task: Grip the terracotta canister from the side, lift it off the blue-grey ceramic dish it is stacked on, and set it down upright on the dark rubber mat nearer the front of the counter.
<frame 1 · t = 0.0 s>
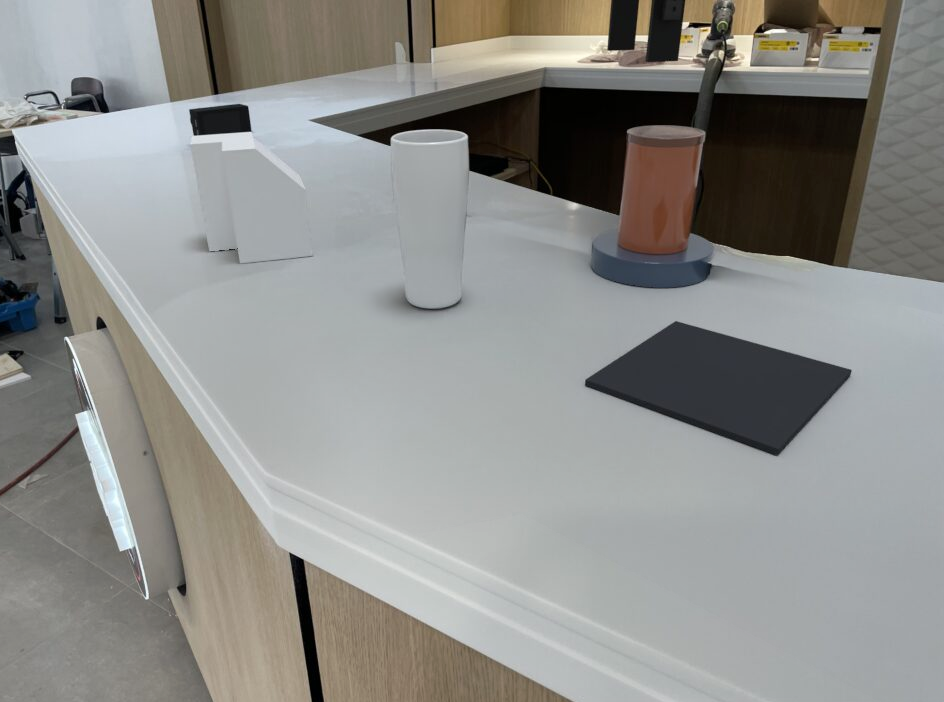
hand: (639, 55, 72), 20 cm above the counter, tool pointing down, fingers open, 13 cm apart
digital camera: (223, 145, 144), on the counter
canister: (652, 243, 75), point 2 cm above the counter, touching dish
drinking glass: (433, 302, 69), on the counter
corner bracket: (259, 248, 85), on the counter
mat: (717, 380, 54), on the counter
dish: (649, 267, 76), on the counter, touching canister
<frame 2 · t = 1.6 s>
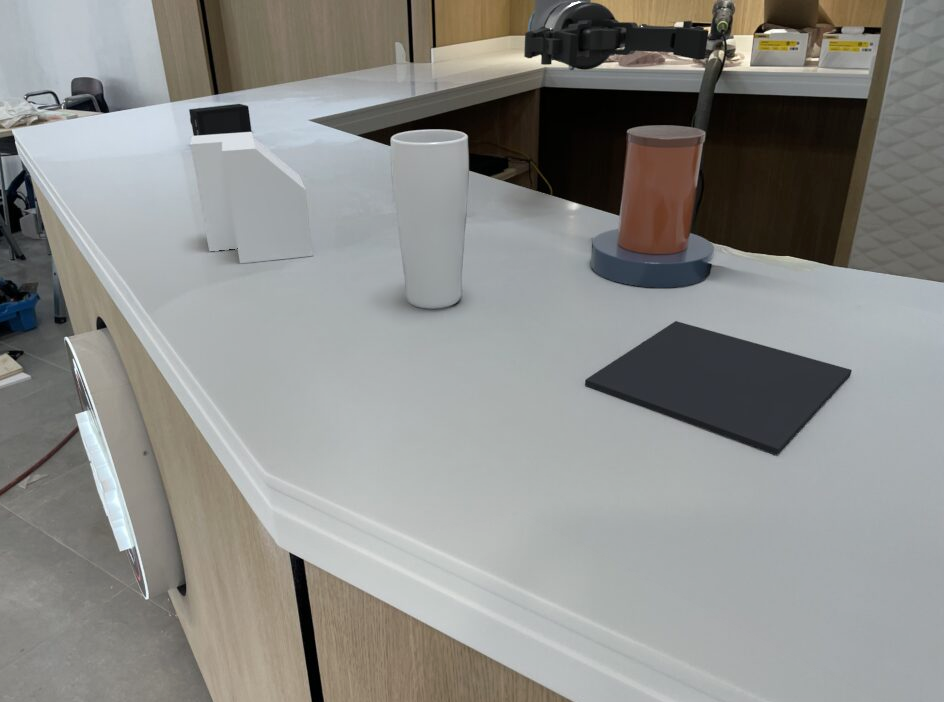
hand: (638, 47, 74), 20 cm above the counter, tool horizontal, fingers open, 13 cm apart
nothing on the counter moved.
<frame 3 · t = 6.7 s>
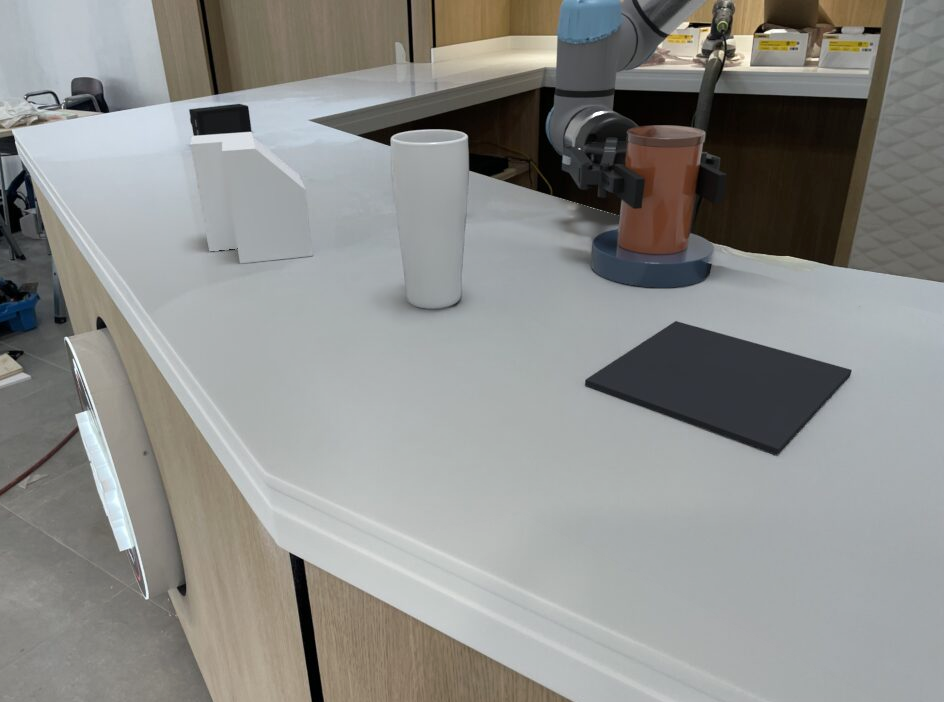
hand: (680, 191, 67), 9 cm above the counter, tool horizontal, fingers closed on canister, 7 cm apart
canister: (652, 243, 75), point 2 cm above the counter, touching dish, gripper
everything else where it was.
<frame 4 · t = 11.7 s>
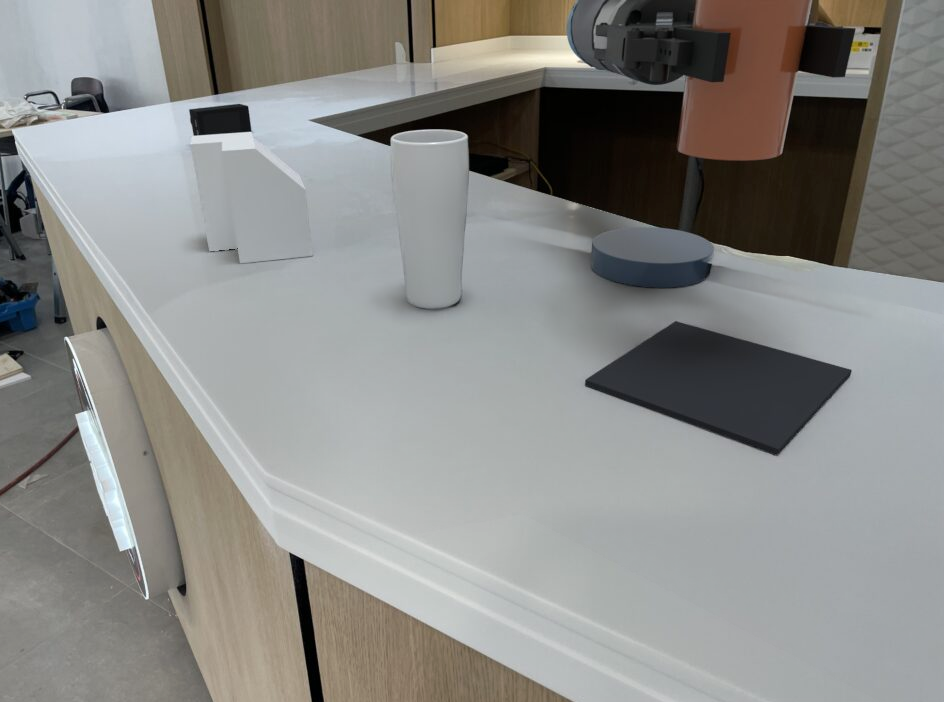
hand: (782, 55, 44), 22 cm above the counter, tool horizontal, fingers closed on canister, 7 cm apart
canister: (728, 150, 52), point 15 cm above the counter, touching gripper
dish: (649, 267, 76), on the counter
everything else where it was.
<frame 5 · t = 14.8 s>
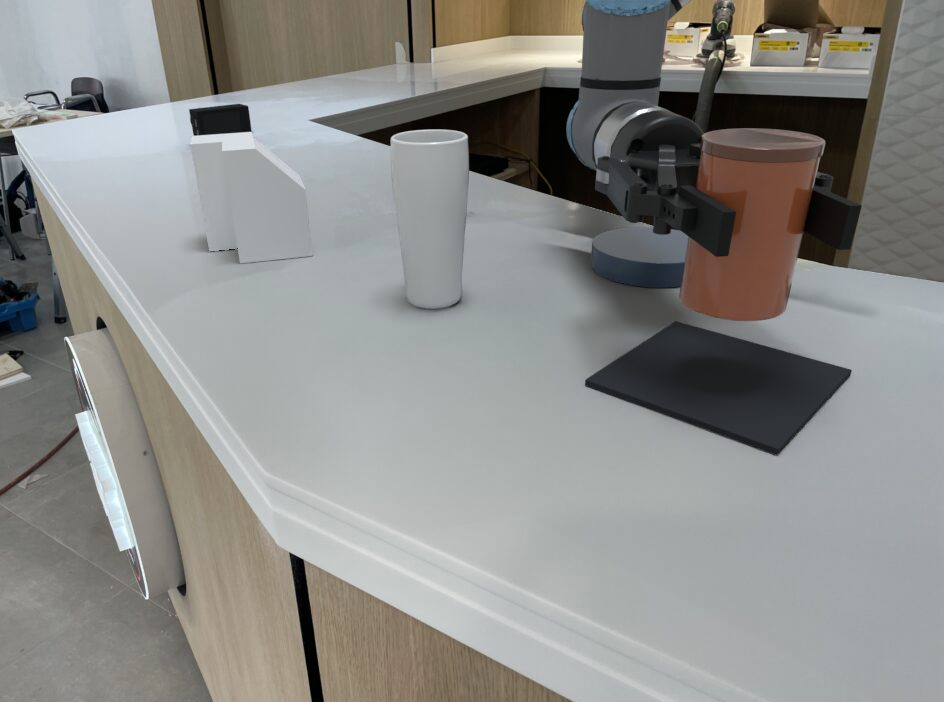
hand: (788, 231, 44), 13 cm above the counter, tool horizontal, fingers closed on canister, 7 cm apart
canister: (731, 301, 51), point 6 cm above the counter, touching gripper
everything else where it was.
when the fingers open (7 cm above the counter, at t = 16.8 s): canister stays where it is, resting on mat.
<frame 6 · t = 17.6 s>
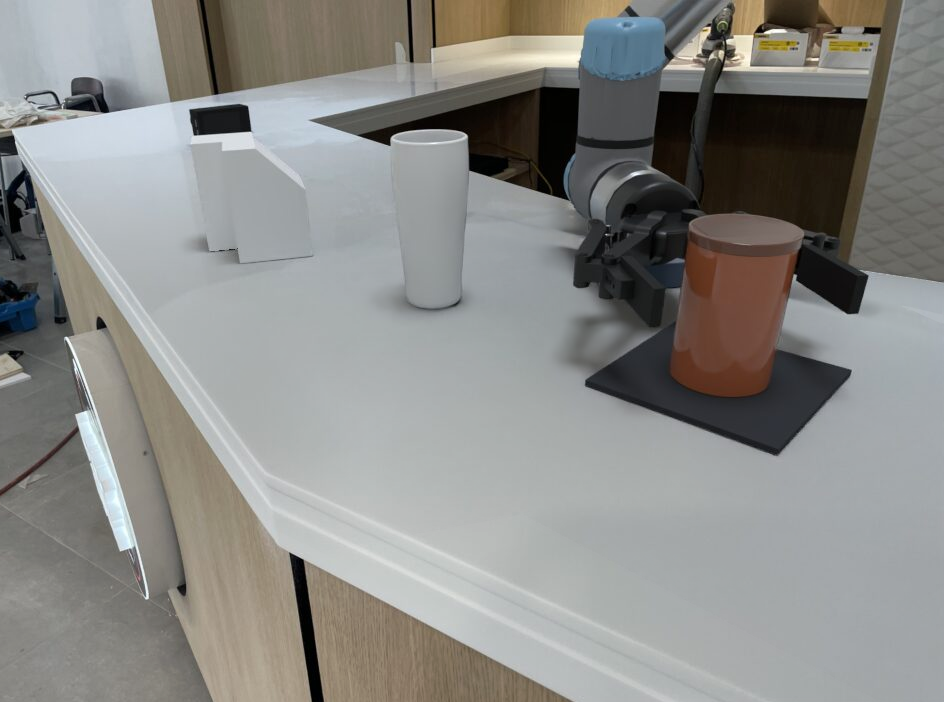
hand: (759, 302, 48), 8 cm above the counter, tool horizontal, fingers open, 13 cm apart
canister: (718, 374, 54), resting on mat
everything else where it was.
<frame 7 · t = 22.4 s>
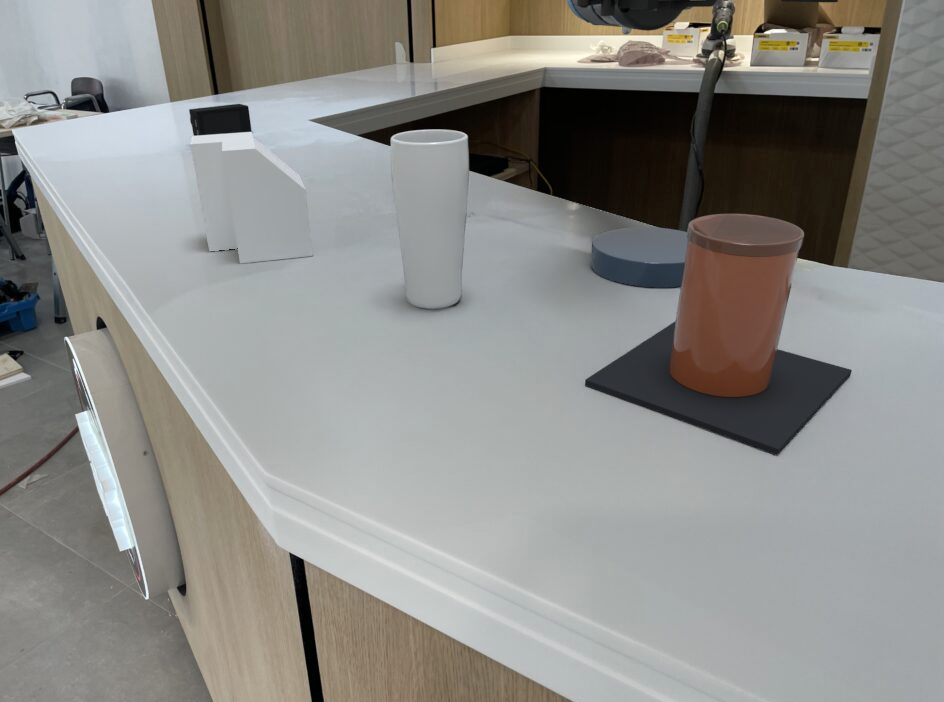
nothing on the counter moved.
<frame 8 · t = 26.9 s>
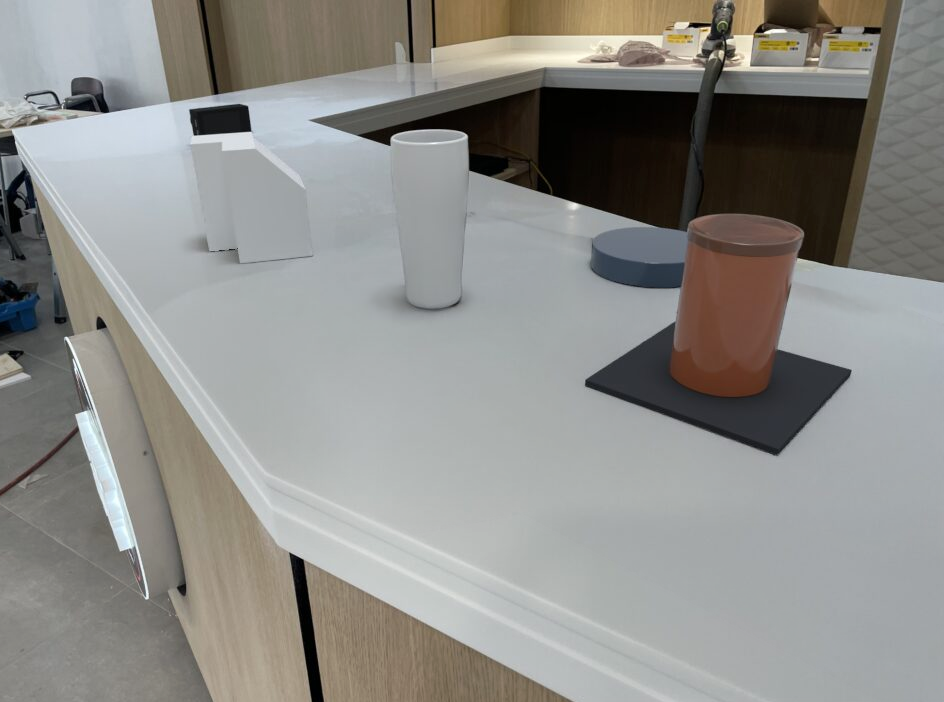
nothing on the counter moved.
at the end: canister inside the target area on the mat (0.0 cm from its centre), point 0.5 cm above the mat's base; canister tilted 0°; canister touching mat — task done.
